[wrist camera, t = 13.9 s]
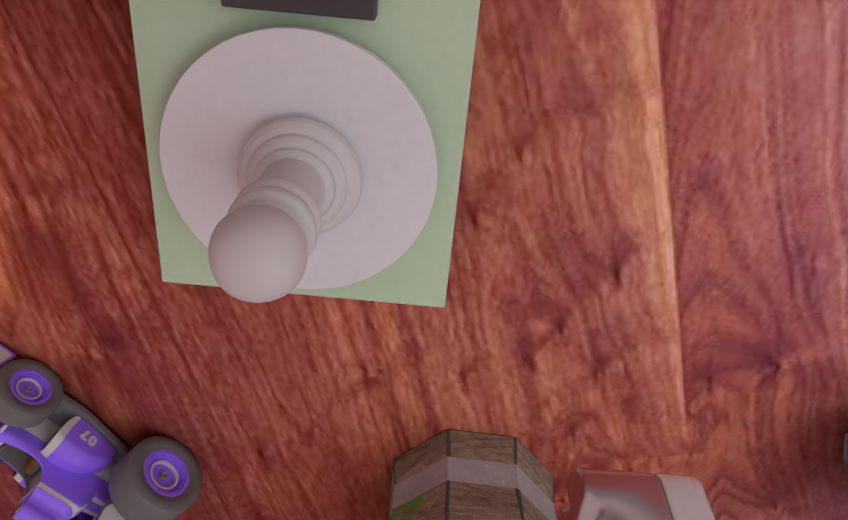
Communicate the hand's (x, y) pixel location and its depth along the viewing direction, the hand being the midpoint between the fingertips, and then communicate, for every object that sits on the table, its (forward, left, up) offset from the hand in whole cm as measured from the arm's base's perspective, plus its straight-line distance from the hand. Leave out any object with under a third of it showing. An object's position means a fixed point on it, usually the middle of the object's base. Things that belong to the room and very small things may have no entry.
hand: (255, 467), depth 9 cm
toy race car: (+26, -19, -25) cm, 40 cm away
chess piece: (+5, -4, -22) cm, 22 cm away
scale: (+5, -4, -25) cm, 26 cm away
